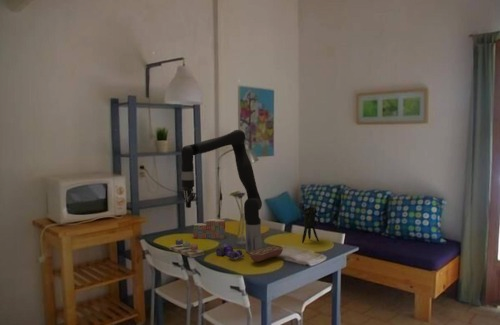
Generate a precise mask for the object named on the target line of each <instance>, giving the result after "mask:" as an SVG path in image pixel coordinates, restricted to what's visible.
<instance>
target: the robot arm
mask: <svg viewBox="0 0 500 325" xmlns="http://www.w3.org/2000/svg"><path fill="white" fill-rule="evenodd" d="M245 141H246V134H245V132H244V131H243V130H241V129H235V130H233V131H232V132H229V133H227V134H224V135H222V136H218V137H215V138H210V139H207V140H202V141H198V142H196V143H192V144H188V145H187V144H186V145H184V146H182V148H181V175H180V176H181V178H180V179H181V187H182V190H181V191H180V195H181V197H182V199H183V201H185V208H187V209H190V208H192V201H194V200H195V197H196V195H197V193H196V192H194V187H195V172H194V171H195V170H194V168H195V167H194V156H196V155H200V154H206V153H209V152H213V151H214V150H218V149H220V148H223V147H226V146H231V147H232V150H233V154H234V159H235V166H236V169H237V173H238V177H239V180H240V182H241V184H242V185H243V187H244V189H245V191H246V192H245V193H246V197H247V199H246V200H245V201H244V204H243V212H244V213H243V215H244V216H243V217H244V221H245V252H246V253H248V254H249V253H250V252H251V251H253V250H256V249H259V248H263V236H262V232H261V231H262V230H261V229H262V228H261V224H262V223H261V222H262V221H261V218H260V212H259V211H260V210H261V208H262V206H263V201H262V199H261V196H260V193H259V191H258V188H257V187H258V186H257V184H256V183H257V182H256V179H255V174H254V168H253V166H252V163H251V159H250V158H249V155H248V153H247V150H246V145H245V144H246V143H245Z"/></svg>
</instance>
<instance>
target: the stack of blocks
mask: <svg viewBox="0 0 500 325" xmlns="http://www.w3.org/2000/svg"><path fill="white" fill-rule="evenodd" d="M192 226H193V227H192V230H193V239H207V240H208V239H210V240H211V239H214V240H215V239H217V240H219V239H220V240H224V239H225V237H226V220H225V219H220V218H218V219H217V218H215V219H213V218H211V219H209V218H208V219H206V222H205V223H201V222H200V223H199V222H198V223H197V222H196V223H194V224H193V225H192Z"/></svg>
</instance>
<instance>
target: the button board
mask: <svg viewBox="0 0 500 325" xmlns="http://www.w3.org/2000/svg"><path fill="white" fill-rule="evenodd" d="M169 250H170V251H173V252H175V253H178V254H180V255H183V256H185V257H188V258H190V257H189V256H191V257H193V258H196V257H201V256H204V255H205V251H204V250H203V249H199V248H198V249H197V250H190V247H183V244H182V245H176V244H174V245H171V246H169Z"/></svg>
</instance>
